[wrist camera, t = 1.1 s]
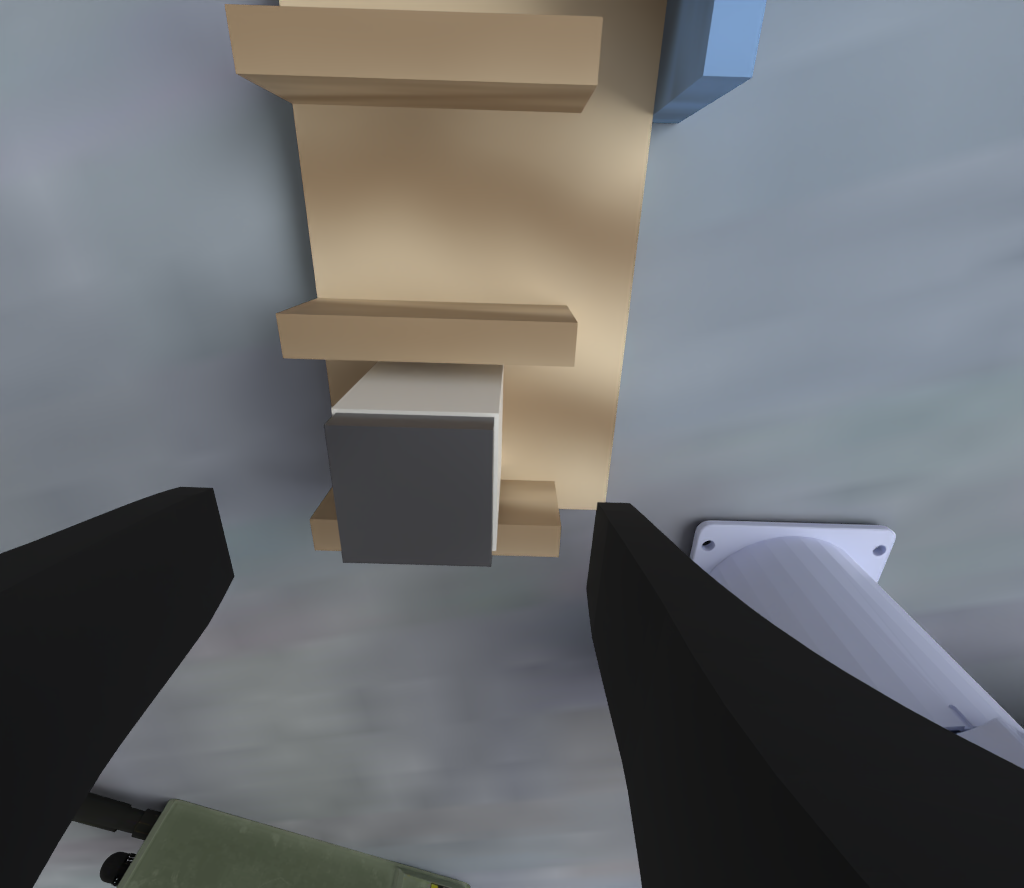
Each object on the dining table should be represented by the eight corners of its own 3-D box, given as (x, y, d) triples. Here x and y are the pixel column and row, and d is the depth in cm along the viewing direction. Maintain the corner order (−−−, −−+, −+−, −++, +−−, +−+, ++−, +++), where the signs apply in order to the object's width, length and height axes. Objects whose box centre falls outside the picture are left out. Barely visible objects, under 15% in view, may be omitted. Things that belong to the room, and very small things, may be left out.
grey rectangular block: (501, 465, 18) (494, 569, 13) (393, 462, 18) (339, 565, 13) (503, 358, 16) (497, 426, 11) (384, 355, 16) (319, 420, 11)
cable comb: (625, 497, 20) (657, 579, 15) (352, 489, 20) (302, 569, 15) (732, -262, 11) (875, -583, 7) (259, -278, 11) (87, -614, 7)
